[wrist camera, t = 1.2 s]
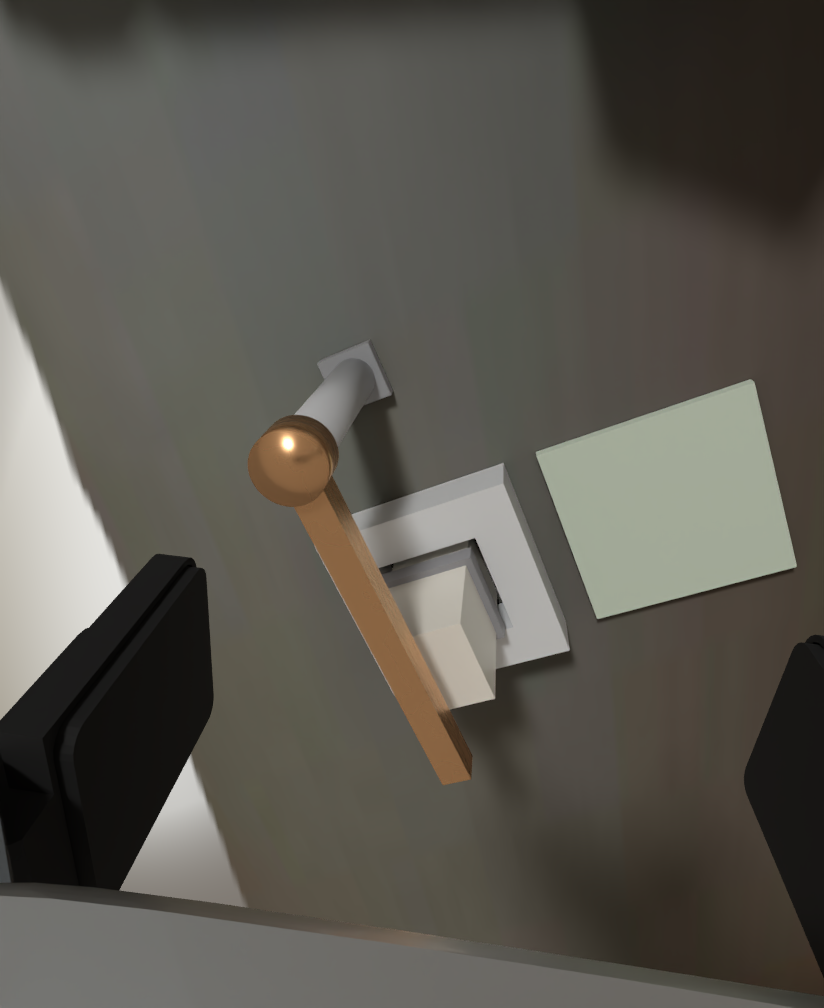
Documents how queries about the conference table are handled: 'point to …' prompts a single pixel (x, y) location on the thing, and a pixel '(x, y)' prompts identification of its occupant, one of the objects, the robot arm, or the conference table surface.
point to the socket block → (448, 517)
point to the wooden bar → (357, 579)
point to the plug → (451, 619)
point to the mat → (671, 502)
